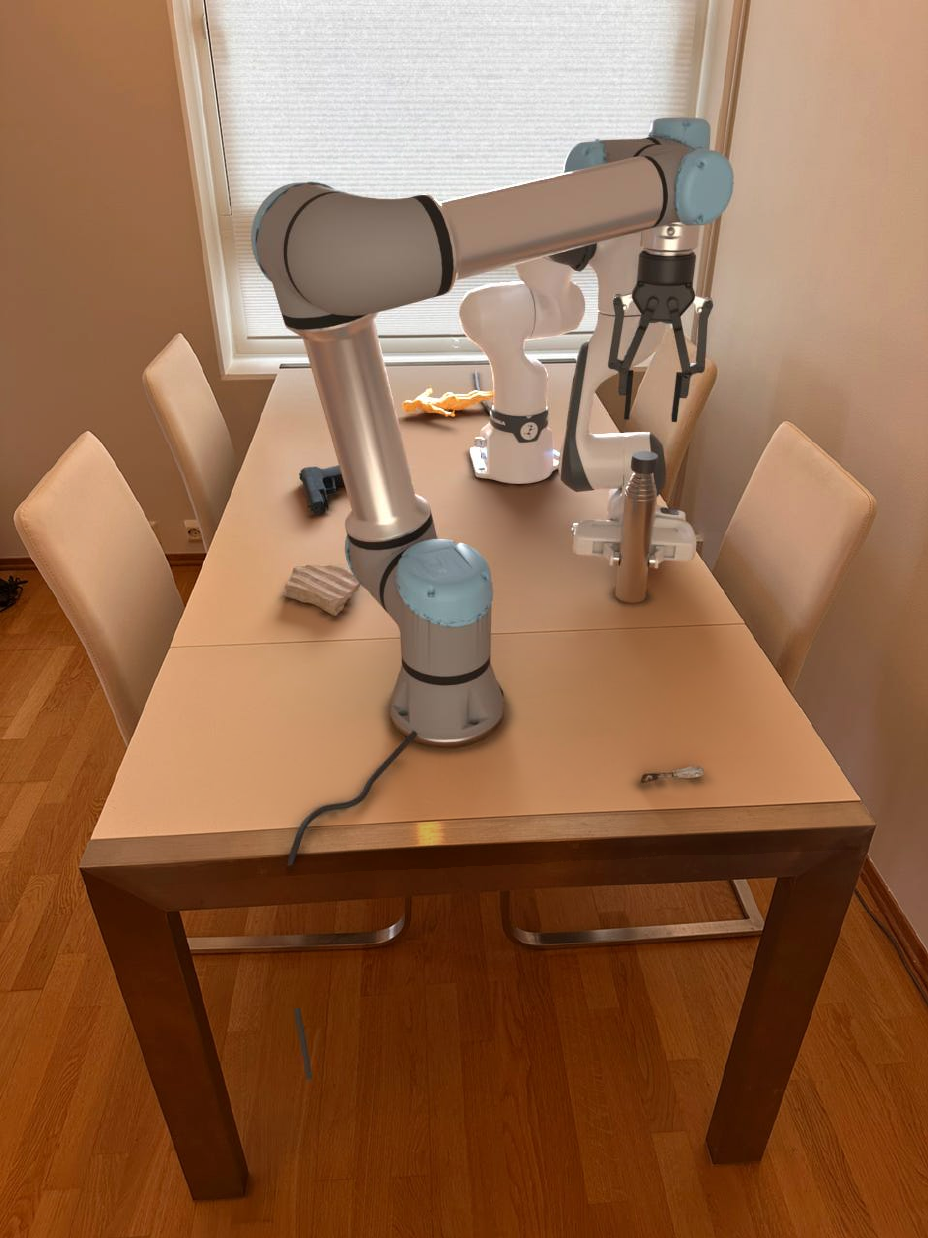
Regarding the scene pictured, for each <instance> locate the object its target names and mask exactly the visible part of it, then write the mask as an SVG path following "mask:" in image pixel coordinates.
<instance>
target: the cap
mask: <svg viewBox="0 0 928 1238" xmlns="http://www.w3.org/2000/svg"><path fill="white" fill-rule="evenodd" d="M657 464H658V455H657V454H656V453H653V452H650V451H637V452H634V453H633V454H632V459H631V470H632V471H634V472H636V473H640V474H651V473H654V472H656V470H657Z"/></svg>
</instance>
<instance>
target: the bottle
mask: <svg viewBox="0 0 928 1238" xmlns="http://www.w3.org/2000/svg"><path fill="white" fill-rule="evenodd" d="M654 482H655V481H654V479H653V475H652V473H651V474H640V473H636V472H635V473H634V474H633V475H632V478H631V480H630V482H629V484H628V487H627V488H626V492H625V499H624V510H623V520H622V530H621V541H620V551H619V566H617V572H616V583H615V591H614V592H615V593H614V594H615V597H616V598H617V599H618V600H619V601H622V602H625V603H628V604H629V603H631V604H633V603H635V604H636V603H640V602H642V601H644V600H645V598H646V592H647V583H648V575H649V568H648V567H649V559H650V551H651V542H652V534H653V525H654V517H655V508H656V500H657V499H658V497H657V494H656V493H657V490H656V485H655V484H654ZM657 501H658V500H657Z"/></svg>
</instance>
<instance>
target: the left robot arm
mask: <svg viewBox="0 0 928 1238" xmlns="http://www.w3.org/2000/svg"><path fill="white" fill-rule="evenodd" d="M734 185H735V184H734V171H733V167H732V165H731V162H730V161H729V159H728V158H727V157H726V156H725V155H724V154H722V153H721V152H719V151H716V150H712V149H711V124H710V122H709V121H708V120H707V119H705V118H701V117H661V118H655V119H654V120H653V121H652V122H651V125H650V129H649V133H648V136H647V137H644V138H622V139H621V138H620V139H599V138H596V139H595V140H590V141H581V142H579V143H577V144H575V145H574V146H573V147H572V148H571V149H570V151H569V153H568V154H567V156H566V157H565V161H564V164H563V173H560V174H554V175H551V176H547V177H546V176H545V177H542V178H537V179H533V180H529V181H525V182H524V181H523V182H520V183H516V184H512V185H506V186H504V187H499V188H495V189H490V190H485V191H481V192H477V193H472V194H467V195H464V196H459V197H455V198H450V199H447V200H443V201H438V200H437V199H435V197H433V196H432V195H430V194H428V193H423V194H422V193H421V194H417V195H413V196H409V197H402V198H378V197H377V198H376V197H370V196H363V195H358V194H355V193H350V192H346V191H341V190H338V189H335V188H333V187H332V186H329V185H327V184H326V183H323V182H322V183H321V182H318V181H305V182H304V181H303V182H302V181H299V182H291V183H288V184H284V185H282V186H280V187H278V188H276V189H275V190H273V191H272V192H270V194H269V195H267V197H266V198H265V199H264V200H263V201H262V202H261V204H260V205H259V207H258V209H257V211H256V213H255V215H254V218H253V220H252V225H251V230H250V231H251V232H250V242H251V250H252V253H253V257H254V260H255V261H256V264H257V266H258V267H259V270H260V271H261V272H262V274H263V276H265V278H266V279H267V280H268V281H269V282H270V283H271V284H272V288H273V290H274V294H275V297H276V301H277V303H278V308H279V311H280V313H281V318H282V320H283V323H284V326H285V328H286V329H287V330H289V331H291V332H293V333H294V334H295V335H298V336H299V337H301V338H302V341H303V345H304V348H305V351H306V355H307V358H308V359H307V360H308V362H309V366H310V370H311V373H312V375H313V376H312V377H313V379H314V382H315V385H316V386H315V387H316V390H317V394H318V398H319V400H320V404H321V406H322V410H323V411H322V412H323V414H324V417H325V418H324V419H325V421H326V424H327V428H328V433H329V435H330V438H331V442H332V446H333V449H334V453H335V455H336V459H337V462H338V463H337V464H338V465H339V466H340V470H341V473H342V477H343V480H344V484H345V486H344V487H345V490H346V493H347V497H348V501H349V504H350V507H351V511H350V512H349V513H348V515H347V517H346V519H345V522H344V528H345V532H346V536H345V541H344V554H345V560H346V562H347V565H348V568H350V569H351V572H352V573H353V575H354V577H355V578H356V580H357V581H358V582H359V583H360V586H361V587H363V588H364V589H365V590H367V591H368V592H369V594H370V595H371V596H372V598H373V599H374V600H375V601H376V602H377V603H378V604H379V605H380V606H381V607H382V609H383V610H384V611H385V612H386V613H387V614H388V615H389V617H390V618H392V620H393V621H394V622H395V623H396V625H397V626H398V630H399V633H400V634H399V635H400V655H401V667H400V669H399V672H398V675H397V678H396V681H395V684H394V687H393V690H392V693H391V696H390V718H391V721H392V724H393V725H394V727H395V728H396V729H397V731H398V732H399V733H400V734H402V735H403V736H404V737H406V738H405V739H404V740H403V741H402V742H401V743H400V744H399V745H398V747H397V748H396V749H395V750H393V752H392V753H391V754H390V755H389V756H388V757H387V758H386V759H385V760H384V761H383V762H382V764H380V766H379V767H378V768H377V769H376V770H375V771H374V772H373V774H371V775H370V777H369V778H368V780H367V781H366V783H365V785H364V786H363V789H362V791H360V794H358V795H357V796H356V797H355V798H352V799H351V800H348V801H342V802H336V803H329V804H325V805H322V806H319V807H318V808H316V809H315V810H313V811H312V812H311V813H309V814H308V815H307V816H306V817H305V818H304V820H303V821H302V822H301V823H300V825H299V828H298V829H297V832H296V834H295V837H294V840H293V843H292V845H291V850H290V852H289V855H288V858H287V862H286V866H287V867H291V866H293V865H294V864H295V861H296V857H297V854H298V852H299V848H300V845H301V842H302V839H303V836H304V833H305V831H306V829H307V827H308V826H309V825H310V824H311V823H313V821H314V820H315V819H316V818H317V817H319V816H320V815H322V814H323V813H326V812H330V811H337V810H343V809H348V808H351V807H354V806H357V805H358V804H360V803H361V802H362V801H363V800H365V799H366V797H367V795H368V794H369V792H370V790H371V788H372V786H373V784H374V783H375V782H376V781H377V779H379V777H380V776H381V775H382V774H383V772H384V771H385V770H387V768H388V767H389V766H390V765H391V764H392V763H393V762H394V761H395V760H396V759H397V758H398V757H399V755H400V754H401V753H402V752H403V751H404V750H405V749H406V748H407V747H408V746H409V745H410V743H412V741H413V742H415V743H417V744H420V745H421V744H422V745H425V746H430V747H437V748H454V747H455V748H457V747H463V746H467V745H471V744H473V743H476V742H480V741H481V740H483V739H485V738H486V737H488V736H489V735H491V734H492V733H493V732H494V731H495V730H496V729H498V727H499V726H500V724H501V722H502V720H503V717H504V698H505V694H504V690H503V688H502V687H501V684H500V683H499V681H498V679H497V677H496V674H495V672H494V668H493V666H492V664H491V654H492V653H491V651H492V649H491V648H492V647H491V645H492V602H493V599H494V590H493V582H492V574H491V568H490V565H489V563H488V561H487V560H486V558H485V557H484V555H482V554H481V553H480V552H479V551H478V550H477V549H475V548H474V547H473V546H470V545H468V544H466V543H464V542H459V543H455V540H452V539H446V538H439V537H438V534H437V531H436V527H435V522H434V518H433V514H432V509H431V505H430V503H429V501H428V500H427V499H425V498H424V497H422V496H420V495H419V494H417V493H416V491H415V490H416V489H415V487H414V482H413V479H412V475H411V474H412V473H411V470H410V466H409V465H410V464H409V461H408V457H407V453H406V448H405V444H404V440H403V436H402V432H401V427H400V424H399V423H400V422H399V419H398V415H397V411H396V406H395V402H394V398H393V394H392V390H391V385H390V380H389V377H388V371H387V367H386V363H385V360H384V356H383V351H382V347H381V343H380V338H379V334H378V330H377V325H376V321H375V320H376V318H377V316H378V315H379V313H381V312H384V311H390V310H394V309H397V308H398V309H399V308H401V307H404V306H408V305H411V304H416V303H419V302H423V301H426V300H429V299H433V298H437V297H441V296H444V295H447V294H449V293H450V292H451V291H452V290H453V287H454V285H455V283H456V281H460V280H464V279H467V278H471V277H474V276H478V275H482V274H486V273H490V272H494V271H496V270H500V269H504V268H508V267H512V266H515V265H516V264H520V263H523V262H527V261H531V260H535V259H538V258H542V257H546V256H550V255H553V254H557V253H561V252H565V251H568V250H572V249H576V248H580V247H583V246H587V245H591V244H594V243H598V242H602V241H606V240H609V239H613V238H617V237H621V236H624V235H628V234H632V233H636V232H639V231H641V241H640V246H641V247H642V248H644V250H643V251H641V253H640V254H639V262H638V273H637V283H636V286H635V288H634V289H633V291H632V293H628V294H624V295H620V294H616V295H615V296H614V299H613V306H614V311H615V321H614V328H613V334H612V341H611V347H610V354H609V360H608V368H609V369H614V370H616V371H618V372H619V373H618V375H619V378H618V379H619V380H618V388H617V389H618V391H617V392H618V396H625V403H624V415H623V420H627V421H628V420H630V416H631V415H630V413H631V404H632V403H631V402H632V393H633V384H634V383H633V382H634V381H633V380H634V369H631V368H630V367H631V364H632V362H633V360H634V357H635V355H636V353H637V350H638V348H639V345H640V343H641V341H642V338H643V336H644V334H645V331H646V330H647V328H648V325H649V323H657V322H663V323H666V324H670V325H671V326H672V330H673V335H674V340H675V345H676V349H677V354H678V359H679V364H680V369H681V371H676V373H675V382H674V391H673V397H672V398H673V399H672V406H671V407H672V408H671V415H670V416H671V417H670V418H671V419H670V420H671V423H678V415H679V407H680V399H687V398H688V396H689V391H690V384H691V378H692V377H693V376H694V375H697V374H703V373H704V372H705V370H706V358H707V341H708V324H709V318H710V315H711V313H712V310H713V308H714V301H713V298H712V297H711V296H706V297H705V296H701V295H698V294H696V292H695V289H694V280H695V279H694V278H695V271H696V270H695V269H696V261H697V254H696V253H695V252H694V250H695V249H697V248H698V245H699V237H700V229H701V228H700V227H701V226H706V225H710V224H711V223H713V222H716V221H717V220H718V218H720V217H721V216H722V215H723V214H724V212H725V211H726V209H727V207H729V204H730V201H731V199H732V196H733V192H734ZM632 301H634V303H635V305H636V306H637V308H638V310H639V311H640V313H641V317H640V319H639V322H638V325H637V327H636V329H635V332H634V334H633V337H632V339H631V341H630V344H629V346H628V349H627V351H626V353H625V356H624V358H623V360H622V361H621V360H619V359H617V358H618V351H619V345H620V339H621V333H622V326H623V320H624V312H625V311H627V310H628V309H629V304H630V303H631V302H632ZM692 304H694V310H695V313H696V314H698V315H697V328H696V329H697V330H696V345H695V346H696V348H695V349H696V350H695V362H690V357H689V352H688V347H687V343H686V337H685V331H684V328H683V321H682V318H681V317H682V316H683V315H684V314H685V312H686V311H687V310H688V309H689V308H690V307H691V306H692ZM293 1013H294V1014H293V1015H294V1019H295V1022H296V1028H297V1034H298V1038H299V1043H300V1048H301V1053H302V1060H303V1065H304V1072H305V1079H306V1080H307V1081H310V1080H312V1079H313V1076H312V1069H311V1061H310V1054H309V1050H308V1048H309V1047H308V1043H307V1038H306V1034H305V1028H304V1023H303V1018H302V1013H301V1008H300V1007H297V1008H294V1009H293Z"/></svg>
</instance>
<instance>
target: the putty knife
mask: <svg viewBox="0 0 928 1238" xmlns="http://www.w3.org/2000/svg"><path fill="white" fill-rule="evenodd" d="M704 772H705V771H704V768H702V767H701V766H697V765H695V766H688V767H683V768H679V769H675V770H673V771H671V772H653V773H652V772H651V773H650V772H649V773H644V774H642V776H641V779H640V783H642V784H645V783H648V782H653V781H659V780H665V779H668V778H673V779H674V778H675V779H693V778H694V779H695V778H700V777H702V776H703V775H704Z"/></svg>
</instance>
